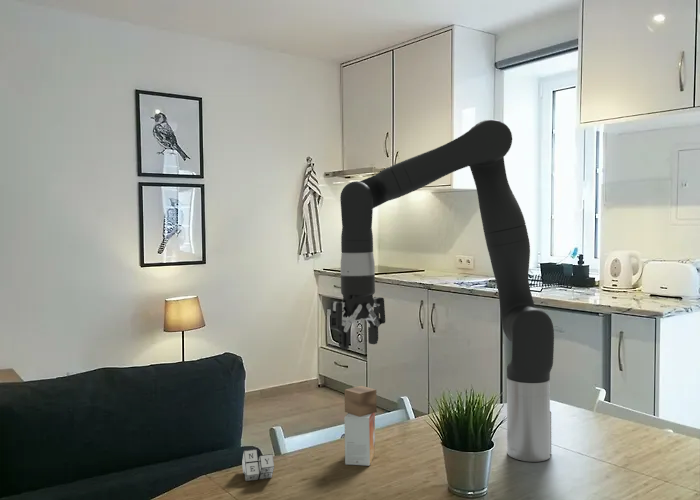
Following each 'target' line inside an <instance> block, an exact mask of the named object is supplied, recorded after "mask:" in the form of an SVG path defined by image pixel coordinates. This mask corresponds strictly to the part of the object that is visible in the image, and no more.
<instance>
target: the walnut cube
mask: <svg viewBox="0 0 700 500" xmlns="http://www.w3.org/2000/svg"><path fill="white" fill-rule="evenodd" d="M377 401H378V400H377V389H376V388H372V387H367V386H365V385H358V386H354V387H349V388H346V389H344V412H345V413H347V414H348V413H350V414H353V415H356V416H359V417H361V416H365V415H368V414H372V413H375V414H376V413H377V412H378V411H377V410H378V409H377V407H378V406H377Z"/></svg>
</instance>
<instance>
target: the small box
mask: <svg viewBox="0 0 700 500" xmlns="http://www.w3.org/2000/svg"><path fill="white" fill-rule="evenodd" d="M343 419H344V465H347V466H348V465H350V466H367V467H368V466H370V465H371V464H372V461H373V459H374V457H375V455H376V423H375V422H376V412H375V413H372V414H368V415H365V416H361V417H359V416H356V415H353V414H350V413H347V414H346V415H345V416H344V418H343Z"/></svg>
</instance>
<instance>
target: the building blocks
mask: <svg viewBox="0 0 700 500" xmlns="http://www.w3.org/2000/svg"><path fill="white" fill-rule="evenodd" d="M241 464H242V466H241V467H242V474H243V475H244V480H245V482H249V481H250V482H252V481H256V480H257V481H258V480H266V479H272V477H273V475H274V470H275V460H274V455H273V453H271V454H261V455H259V456H258V449H254V448H253V449H247V450H243V454H242V460H241Z"/></svg>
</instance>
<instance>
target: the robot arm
mask: <svg viewBox="0 0 700 500" xmlns="http://www.w3.org/2000/svg"><path fill="white" fill-rule="evenodd" d="M512 133H513V132H512V131H511V129H510V128H509V127H508V125H507V124H506V123H504V122H502V121H501V120H498V119H491V118H490V119H486V120H485V119H484V120H482V121H481V120H480V122H478V123H476V124H475V125H474V126H472V127H471V128H470V129H469V130H468V131H466V132H465V133H463V134H462V135H460V136H459V137H456V138H455V139H453V140H451V141H449V142H447V143H445V144H443V145H440V146H438V147H436V148H434V149H431V150H428V151H426V152H423V153H421V154H418V155H415V156H413V157H410V158H407V159H405V160H403V161H400V162H398V163H395V164H393V165H390V166H387V168H385V169H382V170H381V171H379V172H378V173H376V174H374V175H372V176H369V177H367V178H364V179H362V180H360V181H358V180H357V181H356V180H355V181H351V182H349V183H347V184H345V186H344V187H343V188H342V190H341V193H340V200H339V201H340V211H341V212H340V213H341V215H340V216H341V227H342V228H341V236H340V237H341V238H340V243H341V245H340V246H341V247H340V248H341V249H340V251H341V254H340V255H341V256H340V257H341V258H340V293H341V295H342V301H334V300H333V301H331V302H330V318H329V319H330V321H329V322H330V323H329V324H330V325H329V327H330V330H335V331H337V332H338V333H337V334H338V336H337V340H338V346H339V348H340V349H341V350H348V349H349V348H350V337H349V329H350V328H351V326H352V324H354V323H355V321H358V320H362V319H363V320H364V321H365V322H366V323H367V324H368V330H367V333H368V335H367V336H368V337H367V338H368V339H367V341H368V344H369V345H377V344H378V341H379V328H380V326H381V325H382V324H385V323H386V310H385V298H384V297H381V296H374V294H375V292H376V277H375V276H376V274H375V273H376V272H375V269H376V268H375V258H374V237H373V236H374V235H373V212H374V211H373V210H374V208H377V207H380V206H381V205H383V204H385V203H387V202H389V201H392V200H395V199H398V198H401V197H403V196H406V195H408V194H411V193H412V192H415V191H417V190H420V189H421V188H423V187H426V186H428V185H429V184H432V183H433V182H436V181H438V180H440V179H442V178H444V177H445V176H448V175H449V174H452V173H454V172H457V171H459V170H462V169H465V168H468V167H469V168H470V169H469V170H470V172H471V175H472V177H473V182H474V184H475V185H474V186H475V188H476V193H477V199H478V206H479V211H480V218H481V223H482V227H483V234H484V240H485V243H486V248H487V252H488V255H489V259H490V263H491V268H492V272H493V276H494V279H495V283H496V287H497V291H498V300H499V307H500V309H499V310H500V317H501V318H500V319H501V326H502V330H503V333H504V335H505V337H506V338H507V339H508V341H510V342H511V345H512V346H511V361H510V363H508V364H507V366H506V435H507V436H506V439H507V441H506V443H507V444H506V447H507V448H506V449H507V450H506V453H507V455H508V456H509V457H511V458H513V459H515V460H519V461H522V462H530V463H532V462H533V463H535V462H544V461H547V460H548V459H550V458H551V454H552V412H551V395H550V394H551V393H550V391H551V388H550V387H551V386H550V385H551V384H550V383H551V382H550V381H551V370H552V369H553V365H554V351H555V350H554V349H555V348H554V347H555V346H554V344H555V331H554V330H555V329H554V324H553V321H552V318H551V317H550V316H549V314H548V313H546V312H545V311H543V309H542V310H541V309H539V308H536V305H535V303H534V299H533V295H532V292H531V291H532V290H531V287H530V282H529V272H530V271H529V270H530V261H531V258H530V257H531V246H530V245H531V244H530V238H529V233H528V228H527V224H526V223H527V222H526V220H525V218H524V214H523V212H522V209H521V207H520V205H519V202H518V201H517V198H516V196H515V194H514V193H513V191H512V189H511V187H510V184H509V181H508V177H507V171H506V164H505V156H507V153H509V151H510V149H511V147H512V144H513V134H512Z"/></svg>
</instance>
